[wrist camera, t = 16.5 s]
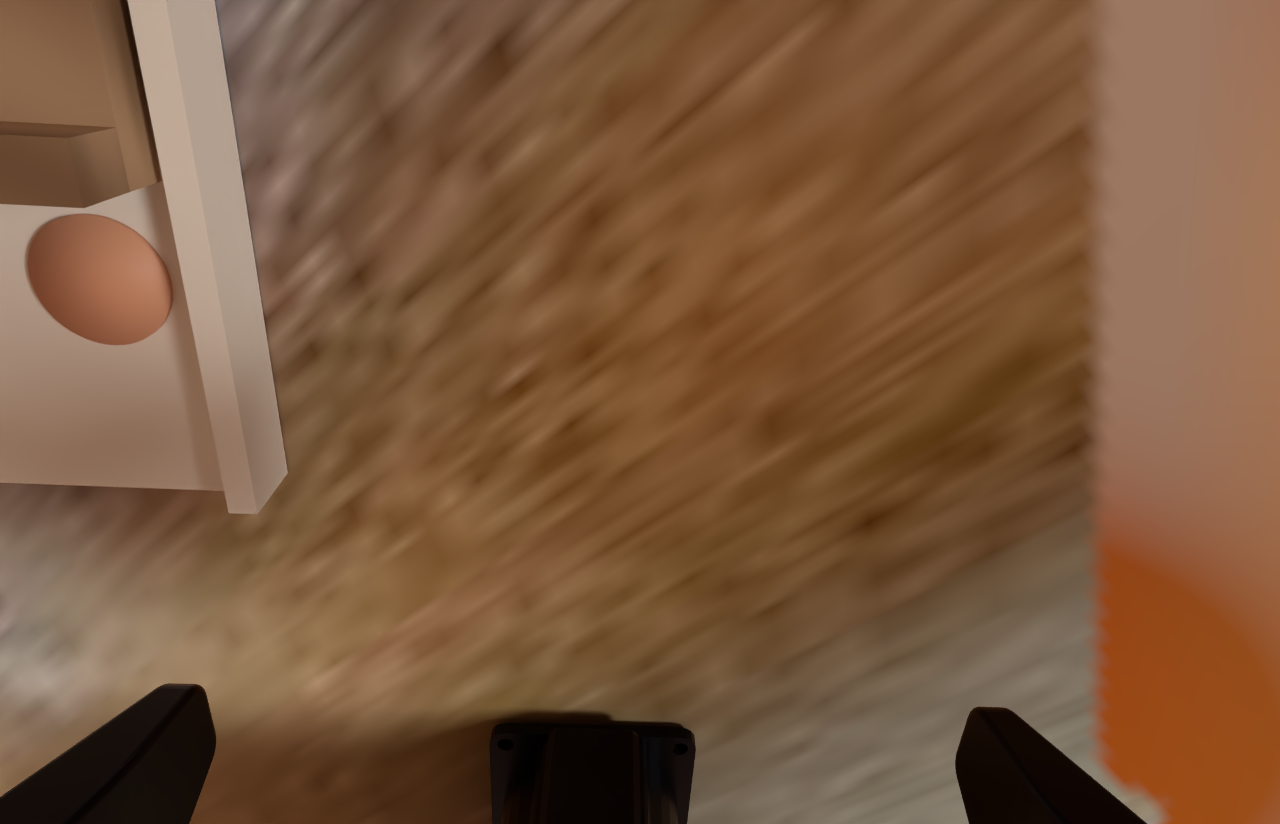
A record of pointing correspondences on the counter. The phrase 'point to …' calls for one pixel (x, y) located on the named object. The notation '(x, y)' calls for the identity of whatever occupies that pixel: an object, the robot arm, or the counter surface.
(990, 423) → the counter surface
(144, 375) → the housing base
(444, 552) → the counter surface
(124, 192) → the lid
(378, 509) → the counter surface
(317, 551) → the counter surface
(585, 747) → the robot arm
